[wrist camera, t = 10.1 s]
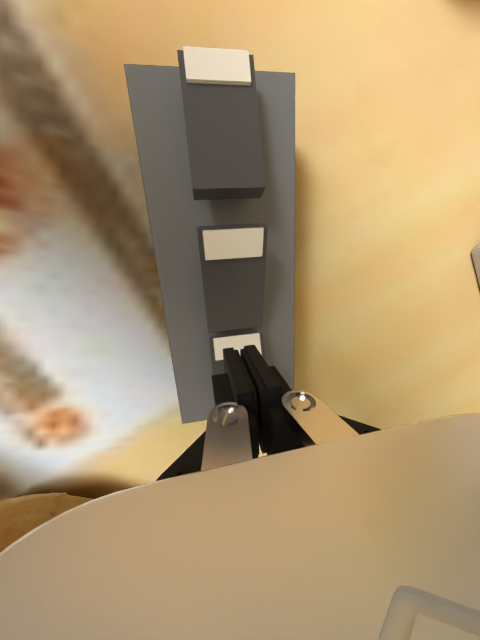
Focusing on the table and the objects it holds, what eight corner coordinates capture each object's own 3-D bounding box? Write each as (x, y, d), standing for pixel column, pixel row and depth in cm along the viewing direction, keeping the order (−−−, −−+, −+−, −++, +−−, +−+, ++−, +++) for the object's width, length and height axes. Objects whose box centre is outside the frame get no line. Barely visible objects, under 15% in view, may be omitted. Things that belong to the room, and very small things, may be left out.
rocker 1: (180, 74, 13) (176, 45, 11) (248, 78, 13) (253, 50, 12) (193, 200, 13) (192, 186, 12) (260, 198, 14) (266, 185, 12)
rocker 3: (208, 337, 17) (208, 338, 16) (258, 332, 18) (263, 332, 16) (218, 428, 17) (219, 437, 16) (268, 419, 18) (273, 427, 16)
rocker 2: (196, 226, 13) (197, 231, 12) (262, 222, 14) (268, 228, 13) (207, 323, 17) (208, 334, 16) (258, 318, 18) (262, 328, 16)
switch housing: (145, 117, 17) (120, 54, 12) (274, 120, 19) (303, 65, 13) (186, 390, 24) (181, 428, 18) (279, 376, 25) (299, 408, 20)
